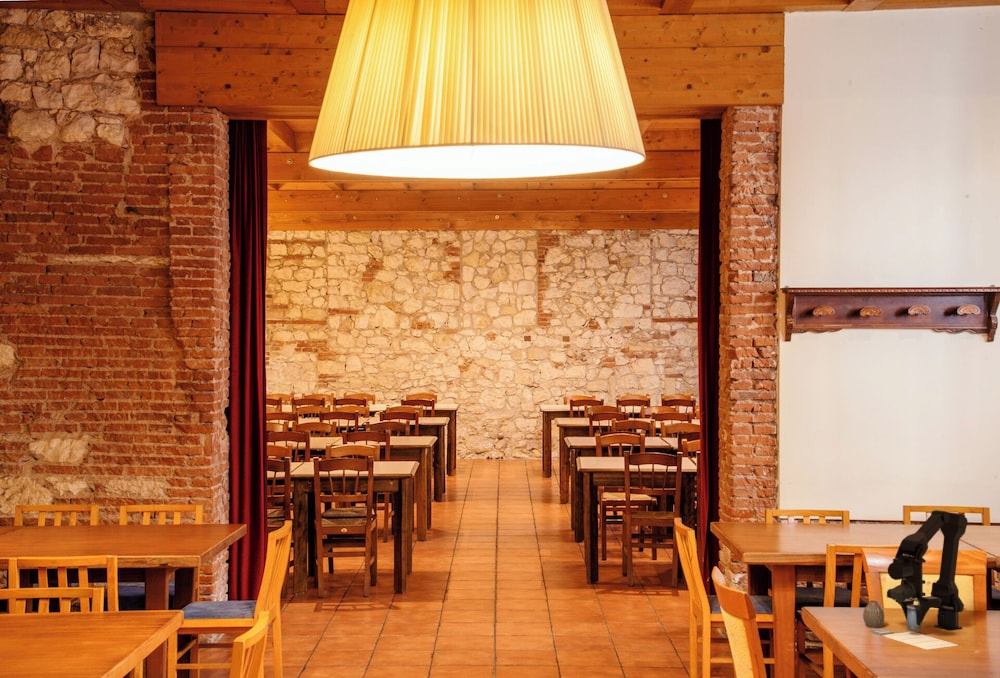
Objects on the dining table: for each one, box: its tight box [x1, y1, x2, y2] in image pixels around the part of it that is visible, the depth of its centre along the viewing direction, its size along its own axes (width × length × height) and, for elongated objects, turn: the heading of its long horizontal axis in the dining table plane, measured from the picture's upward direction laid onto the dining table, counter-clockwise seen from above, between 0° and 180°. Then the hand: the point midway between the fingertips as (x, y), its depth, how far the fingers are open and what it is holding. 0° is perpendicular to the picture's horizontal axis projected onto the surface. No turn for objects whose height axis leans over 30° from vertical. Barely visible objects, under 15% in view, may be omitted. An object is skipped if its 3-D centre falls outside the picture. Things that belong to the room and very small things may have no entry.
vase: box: [862, 600, 885, 629], centre depth 360 cm, size 7×7×9 cm
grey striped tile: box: [869, 628, 895, 636], centre depth 350 cm, size 6×5×1 cm
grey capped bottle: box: [906, 605, 921, 633], centre depth 347 cm, size 4×4×8 cm
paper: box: [882, 631, 959, 651], centre depth 340 cm, size 13×19×1 cm
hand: (913, 623), depth 347 cm, fingers closed on grey capped bottle, 4 cm apart
